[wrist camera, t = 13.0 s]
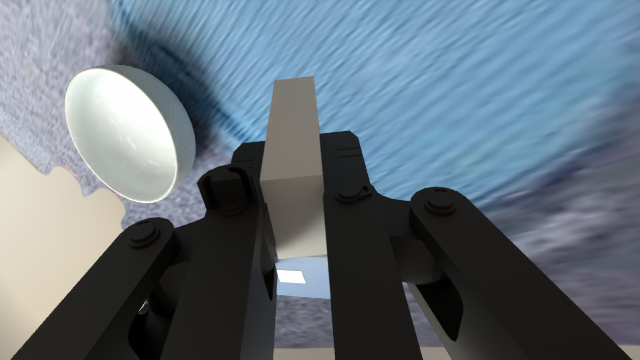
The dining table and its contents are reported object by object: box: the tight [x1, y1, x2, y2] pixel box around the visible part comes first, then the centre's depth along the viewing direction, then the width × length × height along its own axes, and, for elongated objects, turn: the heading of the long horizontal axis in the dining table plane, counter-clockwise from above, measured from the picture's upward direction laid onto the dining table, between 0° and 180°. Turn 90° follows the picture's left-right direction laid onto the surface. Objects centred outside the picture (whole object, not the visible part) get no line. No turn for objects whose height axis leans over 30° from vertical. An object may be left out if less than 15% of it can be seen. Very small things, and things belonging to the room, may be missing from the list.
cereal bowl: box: [65, 64, 196, 203], centre depth 46 cm, size 17×17×7 cm
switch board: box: [275, 251, 330, 299], centre depth 47 cm, size 16×16×2 cm
